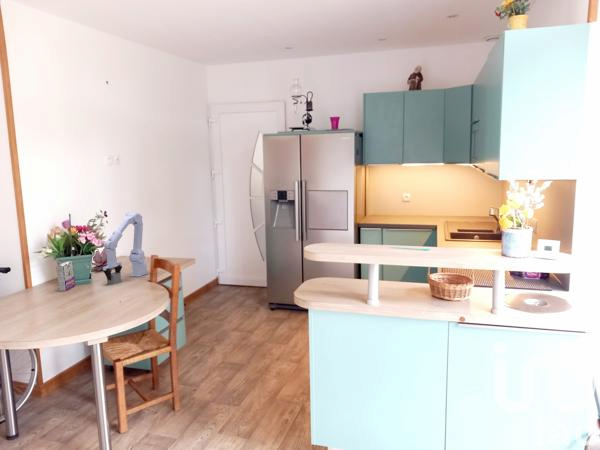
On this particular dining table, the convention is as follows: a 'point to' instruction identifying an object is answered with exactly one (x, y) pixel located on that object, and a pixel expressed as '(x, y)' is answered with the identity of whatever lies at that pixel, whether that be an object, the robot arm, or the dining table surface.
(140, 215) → the robot arm
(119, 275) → the grey cube
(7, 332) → the dining table surface
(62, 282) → the candy bar box
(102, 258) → the decorative flower
